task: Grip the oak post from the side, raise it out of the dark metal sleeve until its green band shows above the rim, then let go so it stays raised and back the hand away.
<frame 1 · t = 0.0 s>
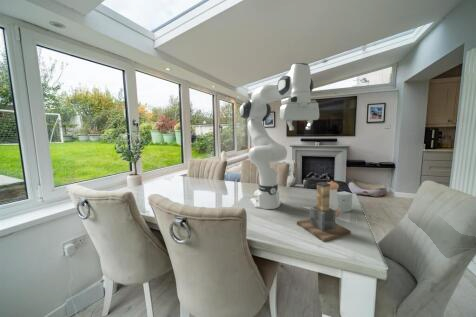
hand: (299, 130, 94), 48 cm above the table, tool pointing down, fingers open, 8 cm apart
oak post: (322, 204, 95), point 12 cm above the table, slide at 0.0 cm
pepper shaker: (330, 214, 113), on the table
small box: (342, 210, 118), on the table
sleeve stand: (322, 228, 97), on the table
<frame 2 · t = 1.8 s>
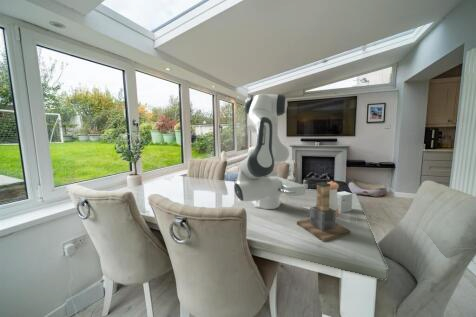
hand: (299, 183, 89), 25 cm above the table, tool horizontal, fingers open, 8 cm apart
nothing on the table moved.
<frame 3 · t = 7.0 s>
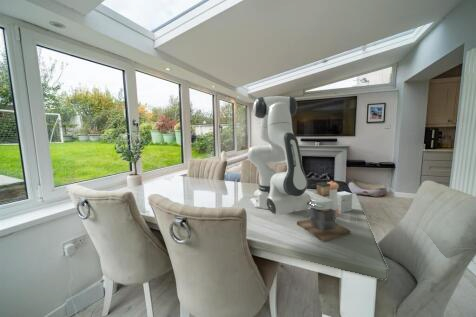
hand: (324, 195, 95), 17 cm above the table, tool horizontal, fingers closed on oak post, 4 cm apart
oak post: (322, 204, 95), point 12 cm above the table, slide at 0.0 cm, touching gripper
everything else where it was.
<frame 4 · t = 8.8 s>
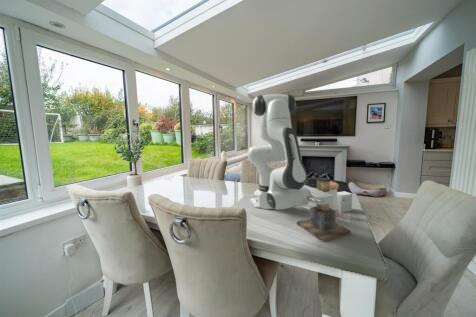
hand: (324, 191, 95), 19 cm above the table, tool horizontal, fingers closed on oak post, 4 cm apart
oak post: (322, 200, 95), point 14 cm above the table, slide at 2.2 cm, touching gripper
everything else where it was.
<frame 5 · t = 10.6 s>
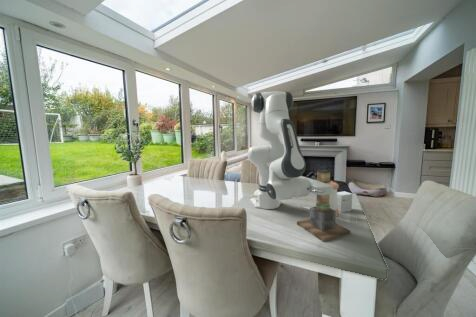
hand: (324, 182, 94), 23 cm above the table, tool horizontal, fingers closed on oak post, 4 cm apart
oak post: (323, 192, 94), point 18 cm above the table, slide at 6.3 cm, touching gripper
everything else where it was.
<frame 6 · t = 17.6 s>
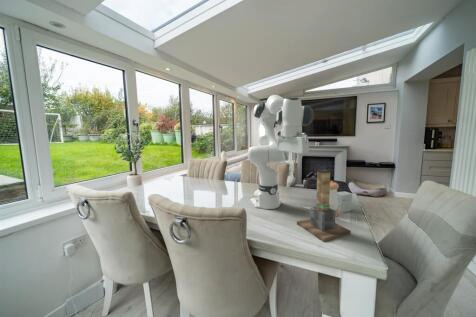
hand: (291, 161, 96), 33 cm above the table, tool pointing down, fingers open, 8 cm apart
oak post: (323, 191, 94), point 19 cm above the table, slide at 6.4 cm
everything else where it was.
at the end: oak post slide at 6.4 cm; the gripper is holding nothing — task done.
